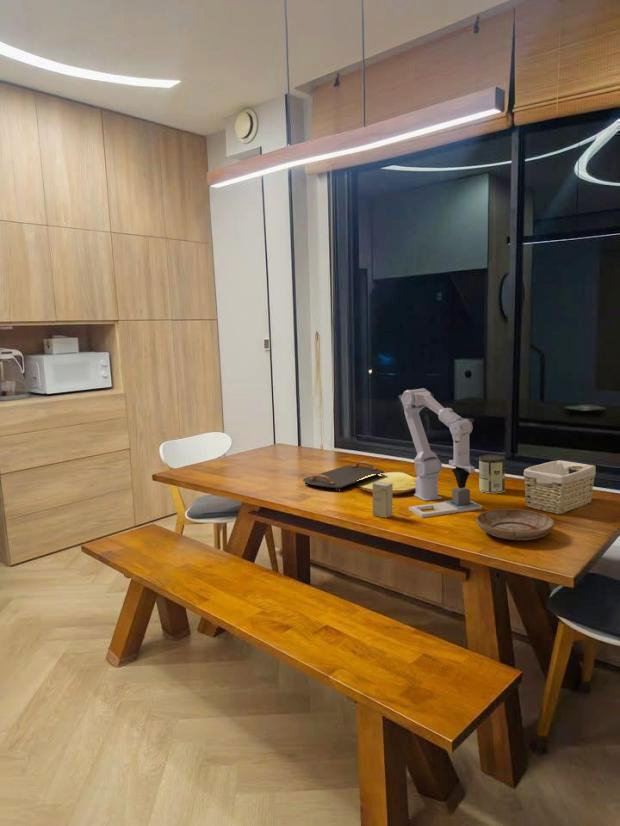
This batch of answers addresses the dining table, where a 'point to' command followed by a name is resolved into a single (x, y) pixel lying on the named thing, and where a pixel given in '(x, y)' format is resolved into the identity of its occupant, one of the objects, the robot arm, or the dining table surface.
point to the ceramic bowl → (515, 524)
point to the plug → (460, 496)
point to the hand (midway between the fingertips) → (461, 487)
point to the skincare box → (382, 499)
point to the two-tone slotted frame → (443, 508)
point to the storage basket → (558, 486)
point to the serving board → (342, 475)
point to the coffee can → (492, 474)
